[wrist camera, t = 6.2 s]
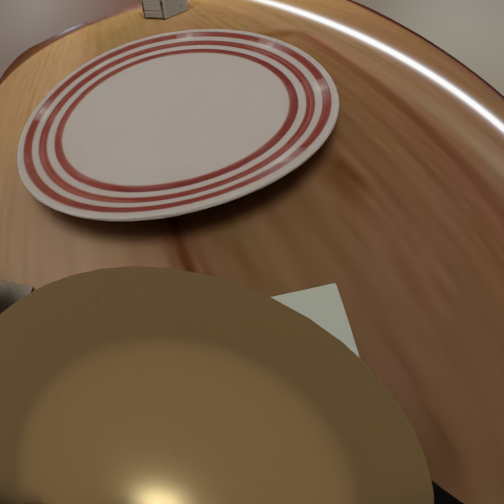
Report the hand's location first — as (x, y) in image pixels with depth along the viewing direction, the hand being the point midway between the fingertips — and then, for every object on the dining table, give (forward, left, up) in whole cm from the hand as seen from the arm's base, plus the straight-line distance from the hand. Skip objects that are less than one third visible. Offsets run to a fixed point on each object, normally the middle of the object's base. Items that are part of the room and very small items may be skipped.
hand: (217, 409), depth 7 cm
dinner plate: (+24, +1, -8) cm, 25 cm away
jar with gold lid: (-1, 0, -7) cm, 7 cm away
